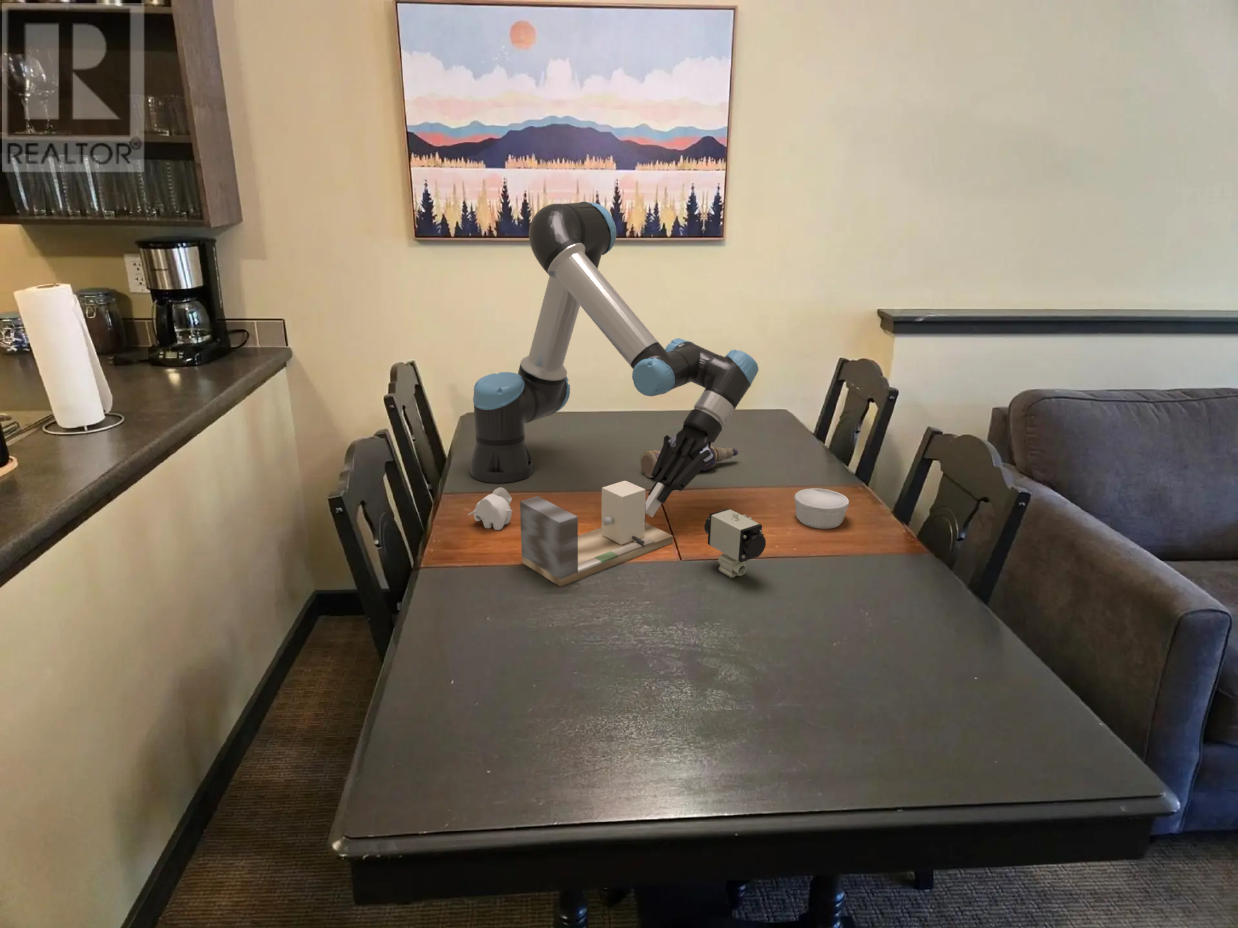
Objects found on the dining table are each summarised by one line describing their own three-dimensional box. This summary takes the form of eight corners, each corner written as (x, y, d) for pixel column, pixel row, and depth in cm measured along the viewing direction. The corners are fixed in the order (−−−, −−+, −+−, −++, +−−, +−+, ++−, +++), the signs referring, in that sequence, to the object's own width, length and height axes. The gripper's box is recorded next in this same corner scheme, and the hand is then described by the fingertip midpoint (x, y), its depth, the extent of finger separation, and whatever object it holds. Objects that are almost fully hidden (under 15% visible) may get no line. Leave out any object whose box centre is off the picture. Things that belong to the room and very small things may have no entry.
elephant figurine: (480, 513, 173) (479, 483, 170) (521, 520, 170) (520, 489, 167) (462, 528, 166) (460, 496, 164) (504, 535, 163) (503, 503, 161)
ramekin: (850, 515, 175) (853, 493, 173) (841, 535, 166) (843, 512, 164) (799, 506, 179) (801, 484, 178) (787, 525, 170) (789, 502, 168)
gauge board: (521, 562, 152) (519, 501, 148) (632, 522, 170) (633, 467, 165) (560, 586, 144) (559, 522, 139) (672, 542, 161) (675, 484, 157)
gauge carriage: (595, 536, 159) (595, 489, 156) (626, 525, 164) (627, 479, 161) (625, 552, 153) (626, 503, 149) (656, 540, 158) (658, 493, 154)
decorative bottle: (653, 483, 191) (653, 456, 189) (639, 472, 198) (639, 447, 195) (745, 468, 201) (747, 443, 199) (729, 458, 208) (731, 434, 205)
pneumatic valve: (744, 589, 144) (749, 528, 140) (701, 563, 153) (704, 505, 149) (766, 580, 147) (772, 520, 143) (722, 556, 156) (726, 499, 152)
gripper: (739, 435, 165) (678, 532, 160) (693, 420, 174) (634, 511, 169) (723, 415, 160) (660, 514, 155) (676, 401, 169) (615, 494, 164)
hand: (646, 513), depth 162 cm, fingers closed
